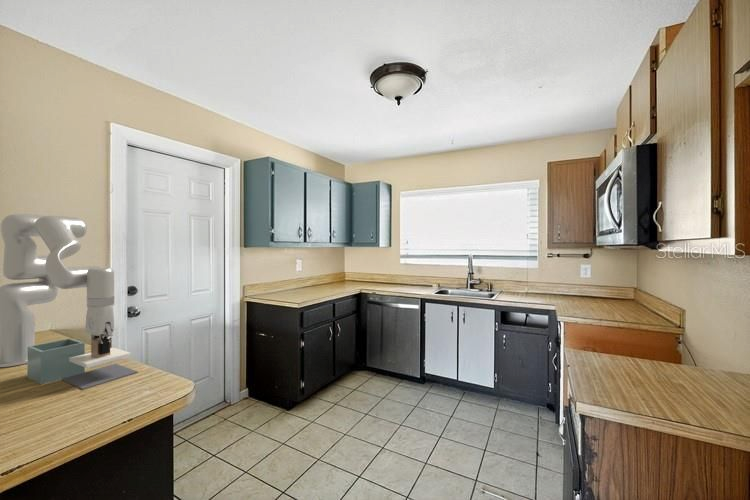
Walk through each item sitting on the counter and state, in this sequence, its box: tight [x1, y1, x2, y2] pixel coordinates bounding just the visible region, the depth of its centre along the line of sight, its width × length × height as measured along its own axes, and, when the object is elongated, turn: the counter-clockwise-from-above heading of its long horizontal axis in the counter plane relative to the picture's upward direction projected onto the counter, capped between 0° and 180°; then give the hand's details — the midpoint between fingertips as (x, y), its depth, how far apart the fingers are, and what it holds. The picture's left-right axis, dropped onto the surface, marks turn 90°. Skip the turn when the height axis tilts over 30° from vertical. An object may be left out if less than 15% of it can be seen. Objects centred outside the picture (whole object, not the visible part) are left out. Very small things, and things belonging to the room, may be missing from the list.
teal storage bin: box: [27, 337, 86, 385], centre depth 115 cm, size 12×12×11 cm
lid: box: [69, 336, 132, 369], centre depth 114 cm, size 13×13×8 cm
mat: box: [61, 363, 139, 391], centre depth 114 cm, size 16×16×1 cm
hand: (100, 352), depth 114 cm, fingers closed on lid, 4 cm apart
